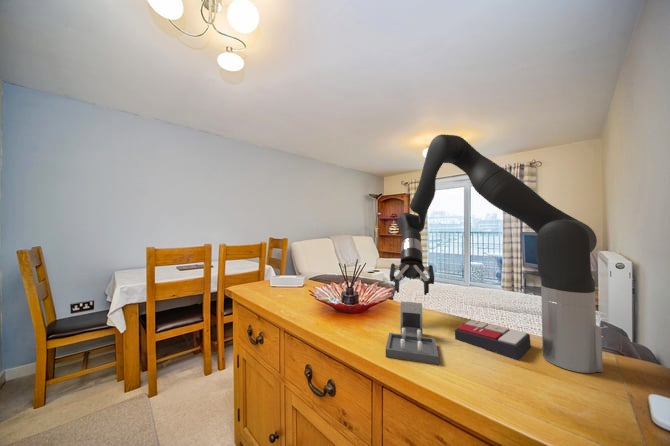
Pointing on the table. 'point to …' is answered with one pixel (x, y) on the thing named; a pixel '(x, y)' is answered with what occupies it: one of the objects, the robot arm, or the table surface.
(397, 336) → the tray
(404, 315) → the drive
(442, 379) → the table surface
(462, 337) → the red and grey box
